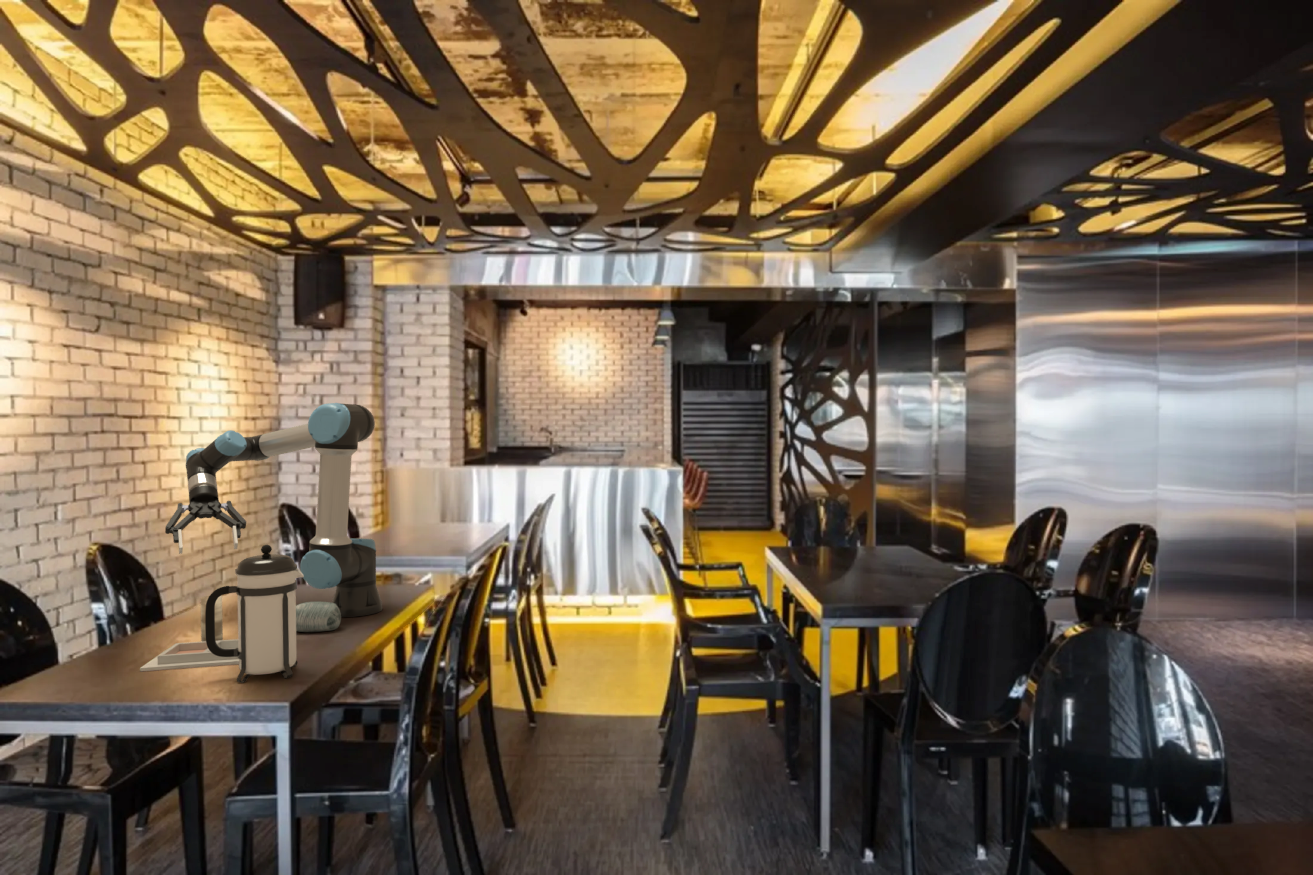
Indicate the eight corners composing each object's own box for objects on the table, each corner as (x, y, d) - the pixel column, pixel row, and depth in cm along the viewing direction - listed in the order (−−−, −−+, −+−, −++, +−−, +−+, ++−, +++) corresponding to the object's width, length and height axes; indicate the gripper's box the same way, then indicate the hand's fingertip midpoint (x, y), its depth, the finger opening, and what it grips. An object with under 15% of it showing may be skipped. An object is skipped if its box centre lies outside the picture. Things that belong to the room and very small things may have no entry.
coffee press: (275, 660, 191) (273, 538, 191) (317, 670, 183) (315, 542, 183) (204, 680, 176) (202, 547, 176) (245, 691, 168) (243, 552, 168)
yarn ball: (350, 613, 227) (335, 587, 222) (340, 636, 218) (324, 609, 214) (307, 624, 228) (290, 598, 223) (295, 647, 219) (278, 621, 215)
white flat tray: (276, 645, 205) (276, 634, 205) (260, 662, 190) (260, 651, 190) (166, 653, 199) (165, 642, 199) (140, 671, 184) (139, 659, 184)
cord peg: (225, 638, 213) (224, 594, 213) (219, 643, 208) (218, 598, 208) (204, 640, 212) (204, 595, 212) (198, 644, 207) (197, 599, 207)
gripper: (248, 498, 242) (256, 552, 230) (153, 503, 228) (156, 560, 216) (251, 481, 238) (259, 536, 226) (153, 485, 224) (156, 543, 211)
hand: (209, 548), depth 221 cm, fingers open, 13 cm apart
